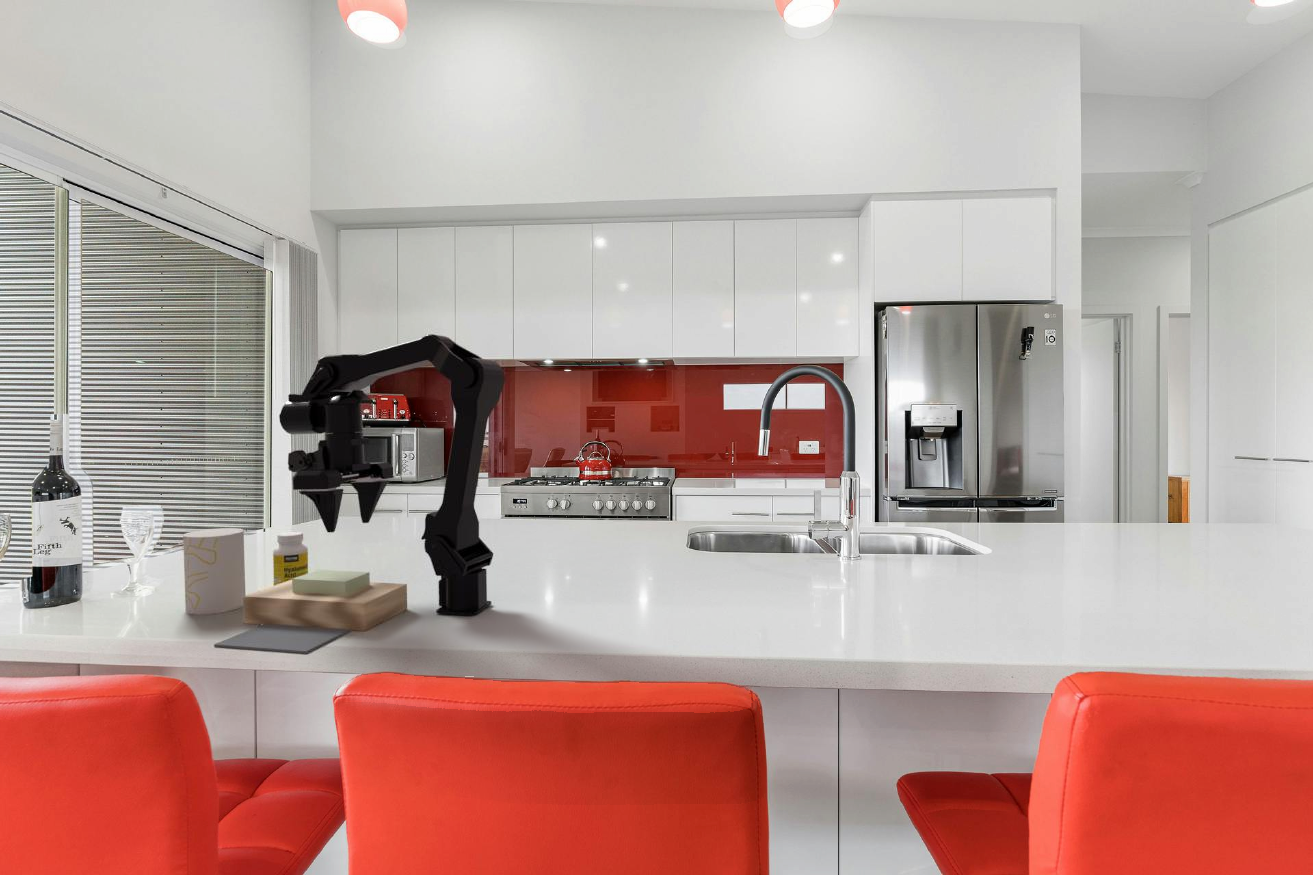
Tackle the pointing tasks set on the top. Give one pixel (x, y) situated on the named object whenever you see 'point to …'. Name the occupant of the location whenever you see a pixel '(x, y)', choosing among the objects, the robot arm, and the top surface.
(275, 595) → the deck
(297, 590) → the pale green foam block
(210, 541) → the cup
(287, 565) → the supplement bottle
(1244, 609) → the top surface
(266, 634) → the mat
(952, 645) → the top surface
